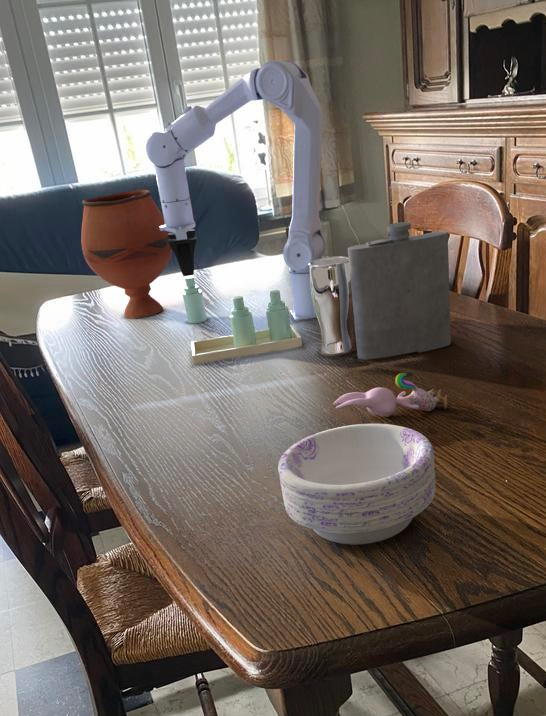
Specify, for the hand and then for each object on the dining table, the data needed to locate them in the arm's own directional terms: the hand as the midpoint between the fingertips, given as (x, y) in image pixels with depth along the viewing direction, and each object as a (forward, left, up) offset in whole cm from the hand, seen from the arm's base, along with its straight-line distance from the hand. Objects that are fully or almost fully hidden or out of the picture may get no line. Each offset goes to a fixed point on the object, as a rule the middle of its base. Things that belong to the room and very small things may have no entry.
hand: (188, 271), depth 152 cm
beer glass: (-23, +37, -10) cm, 45 cm away
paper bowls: (-14, +94, -10) cm, 96 cm away
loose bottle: (0, 0, -10) cm, 10 cm away
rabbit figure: (-24, +68, -10) cm, 73 cm away
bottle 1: (-8, +27, -10) cm, 30 cm away
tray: (-8, +27, -10) cm, 30 cm away
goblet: (+12, -15, -10) cm, 22 cm away
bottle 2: (-15, +27, -10) cm, 32 cm away
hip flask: (-33, +43, -10) cm, 55 cm away
